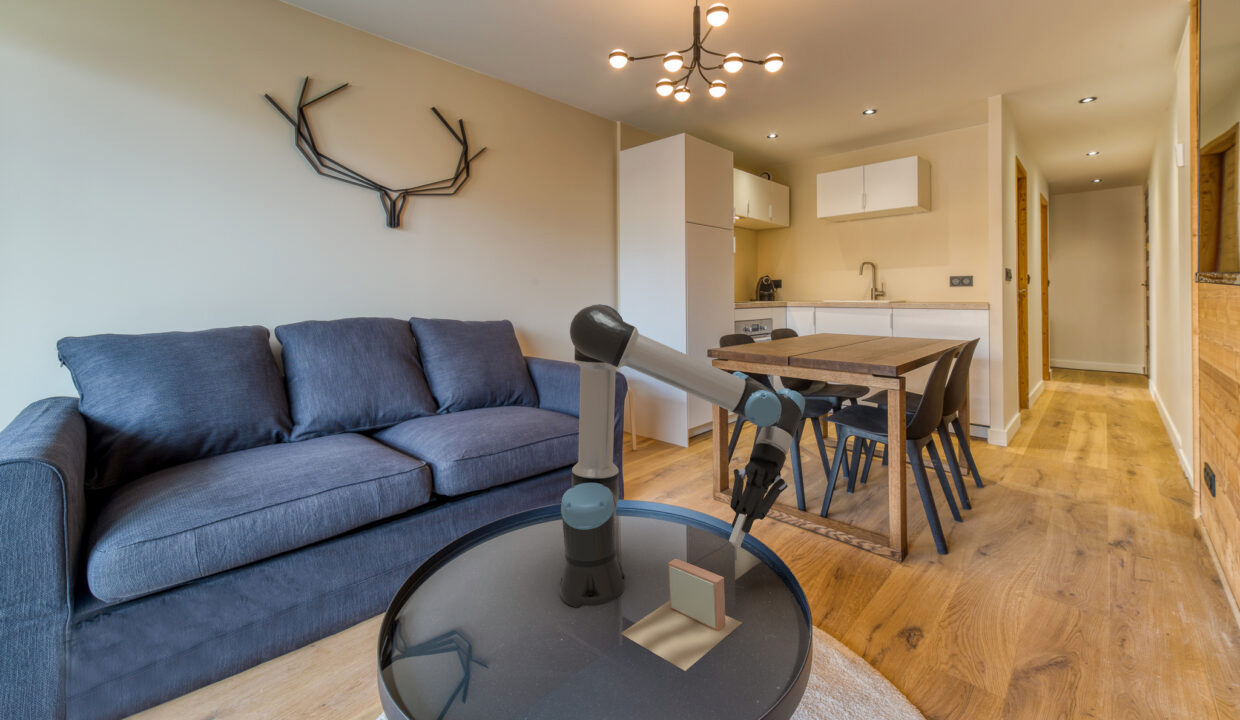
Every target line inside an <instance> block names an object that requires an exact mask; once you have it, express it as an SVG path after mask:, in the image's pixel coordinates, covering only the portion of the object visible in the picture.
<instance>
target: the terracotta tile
mask: <svg viewBox="0 0 1240 720" xmlns="http://www.w3.org/2000/svg"><path fill="white" fill-rule="evenodd" d="M667 564H668V565H667V566H668V567H667V568H668V581H669V582H668V583H669V600H670V607H671V609H673V610H675V611H677V612H680V613H682V614H684V615H686V616H688V617H690V618H692V619H694V620H696V621H698V622H700V623H702V624H704V625H706V626H708V627H710V628H712V629H715V630H717V631H719V630H720V629H722V628H723V627H724V626H725V625H726V621H725V615H726V604H725V603H726V602H725V601H726V600H725V599H726V597H725V577H724V576H721V575H718V574H716V573H714V572H711V571H709V570H707V569H704V568H701V567H699V566H697V565H694V564H691V563H689V562H686V561H684V560H681V559H679V558H674V559H672V560H671V561H668V563H667Z"/></svg>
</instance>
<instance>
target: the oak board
mask: <svg viewBox="0 0 1240 720" xmlns="http://www.w3.org/2000/svg"><path fill="white" fill-rule="evenodd" d="M725 621H726V625H725V626H724V627H723V628H722V629H720V630H719V631H717V630H715V629H712V628H710V627H708V626H706V625H704V624H702V623H700V622H698V621H696V620H694V619H692V618H690V617H688V616H686V615H684V614H682V613H680V612H677V611H675V610H673V609H671V607H670V599H669V600H668V601H666V602H665V603H664V604H662V605H660V606H659V607H657V608H656V609H655V610H653V611H652V612H650V613H648V614H647V615H646V616H644V617H643V618H641V619H640V620H638V621H637V622H635V623H633V624H632V625H630V627H628V628H627V629H625V630H623V631H622V632H621V633H620V635H622V636H624V637H626V638H627V639H629V640H631V641H632V642H634V643H636V644H637V645H639V646H641V647H643V648H644V649H646V650H648V651H649V652H652V653H653V654H654V655H656V656H659V657H660V658H662V659H663V660H665V661H667V662H669V663H670V664H672V665H673V666H675V667H678V668H679V669H681V670H683V671H684V672H687V670H689V669H690V668H691V667H692V666H693V665H694V664H695V663H697V662H698V661H699V660H701V658H703V657H704V656H705V655H707V653H708V652H709V651H711V650H713V648H715V647H716V646H717V645H718V644H719V643H720V642H721V641H722V640H724V639H725V638H727V636H728V635H730V634H731V633H732V632H733V631H735V630H736V629H737V628H738V627H739V626H741V624H743V622H741V621H739V620H737V619H735V618H732V617H730V616H729V615H726V614H725Z"/></svg>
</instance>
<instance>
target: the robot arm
mask: <svg viewBox="0 0 1240 720" xmlns="http://www.w3.org/2000/svg"><path fill="white" fill-rule="evenodd" d="M569 335H570V337H569V338H570V340H571V343H572V344H573V346H574V360H573V361H574V362H575V363H576V364H577V365H578V366H579V367H580V370H579V371H580V375H579V377H580V378H579V379H580V380H579V417H578V418H579V419H578V423H579V424H578V425H579V426H578V457H577V459H578V462H577V463H576V464H574V466H573V467H572V468H571V487H570V488H568V489H567V490H566V491H565V492H564V494H562V495H563V496H561V497H562V498H561V505H560V513H561V518H562V520H561V521H562V531H563V545H564V556H565V557H564V558H565V563H564V566H563V572H562V577H561V579H560V582H559V593H560V594H559V595H560V598H561V600H562V601H563V602H564V603H565V604H567V605H568V606H571V607H573V608H577V609H579V608H582V607H583V606H586V607H587V606H589V607H590V606H591V607H592V606H598V605H604V604H608V603H610V602H613V601H614V600H616V599H618V598H619V597H621V595H622V594H624V592H625V590H626V588H627V578H626V575H625V573H624V571H623V567H622V565H621V563H620V560H619V558H618V554H617V541H616V540H617V539H616V515H617V510H618V509H617V508H618V504H619V503H618V502H619V499H620V487H619V468H618V466H617V465H616V464H615V463H614V441H615V440H614V439H615V438H614V437H615V435H614V434H615V433H614V431H615V406H616V405H615V401H616V400H615V399H616V374H617V373H616V370H617V368H618V369H619V368H622V367H628V368H630V369H631V370H633V371H636V372H639V373H641V374H643V375H645V376H648V377H651V378H653V379H656V381H657V380H658V381H660V382H662V383H664V384H667V385H669V386H671V387H674V388H676V389H679V390H681V391H682V392H685V393H687V394H690V395H692V396H694V397H697V398H699V399H702V400H703V401H706V402H709V403H711V404H713V405H714V406H718V407H720V408H722V409H725V410H727V411H729V412H732V413H733V414H735V415H737V416H740V417H742V418H745V420H746V419H747V421H748V422H749V423H750V424H752V425H755V426H757V427H761V429H760V431H759V433H758V436H757V439H756V440H755V441H756V442H755V444H754V446H753V449H752V452H751V454H750V456H749V460H748V462H747V464H746V465H745V466H744V468H742V469H738V468H735V469H733V475H734V480H733V481H734V482H733V485H732V486H733V488H732V493H731V498H730V499H731V501H730V508H731V510H732V511H733V512H735V515H734V518H733V520H732V522H731V527H732V528H733V529H732V531H731V534H730V537H729V540H728V542H729V543H730V544H731V545H732V546H733V547H736V548H739V549H740V548H741V546H742V543H743V541H744V538H745V536H746V534H749V533H750V531H751V529H752V527H753V524H754V522H755V520H760V521H762V520H764V519H765V518H766V516H767V515H768V513H769V511H770V510H771V508H772V506H773V505H774V504H775V502H776V501H777V499H778V497H779V496H780V494H781V493H782V492H784V491H785V490H786V489H787V488H788V486H789V485H788V484H787V482H786V481H785V480H784V478H781V477H782V475H781V474H782V473H781V472H782V470H783V467H784V465H785V462H786V459H787V455H788V453H789V451H790V448H791V445H792V442H793V440H794V438H795V437H794V436H795V434H796V432H797V430H798V427H799V425H800V423H801V420H802V418H803V415H804V411H805V407H806V400H805V398H804V396H803V395H802V394H801V393H799V391H798V392H797V391H796V390H791V389H790V388H785V387H783V388H780V389H777V390H776V391H774V390H772V389H770V388H769V387H767V386H765V385H764V384H763V383H760V382H759V381H758V380H755V378H753V377H751V376H750V375H747V374H745V373H743V372H741V371H734V372H733V373H730V372H727V371H725V370H722V369H720V368H718V367H716V366H714V365H711V364H709V363H707V362H704V361H703V360H700V359H698V358H696V357H693V356H691V355H688V354H687V353H683V352H682V351H679V350H676V349H675V348H672V347H670V346H668V345H665V344H663V343H661V342H658V341H657V340H655V339H653V338H649V337H648V336H645V335H643V334H640V333H639V331H638V328H637V326H634V325H631V324H629V323H627V322H626V321H624V320H623V317H622V315H620V313H619V312H618V311H617V310H616V309H615V308H614V307H612V306H609V305H607V304H600V303H599V304H592V305H590V306H586V307H584V308H582V309H581V310H579V311H578V312H577V313H576V314H575V315H574V317H573V318H572V320H571V322H570V326H569ZM746 477H747V479H746ZM745 480H746V482H745ZM744 485H745V487H744Z"/></svg>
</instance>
